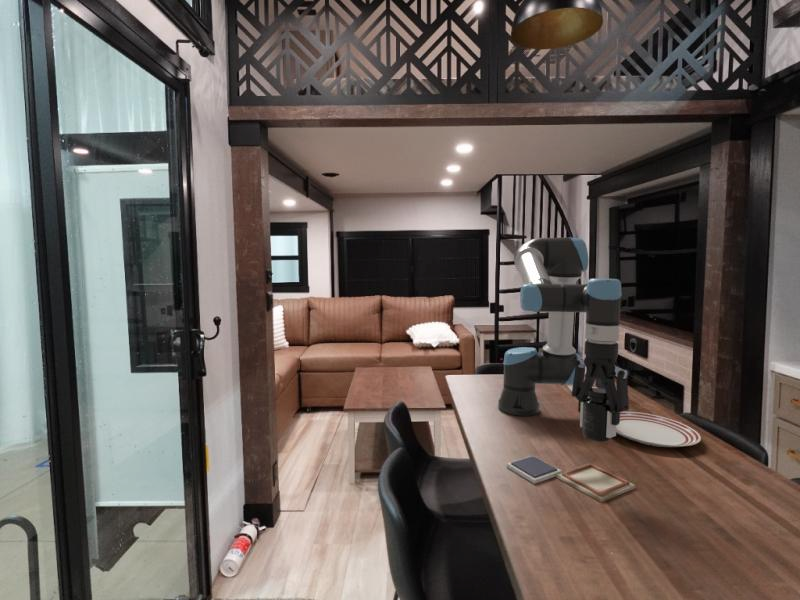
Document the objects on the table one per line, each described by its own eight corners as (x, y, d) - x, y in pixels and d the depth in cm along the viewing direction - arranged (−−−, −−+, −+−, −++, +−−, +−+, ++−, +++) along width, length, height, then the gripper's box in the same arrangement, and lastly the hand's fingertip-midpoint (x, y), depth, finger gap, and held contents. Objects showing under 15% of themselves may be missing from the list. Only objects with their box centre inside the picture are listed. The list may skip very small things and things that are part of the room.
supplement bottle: (615, 443, 102) (618, 395, 101) (585, 441, 104) (587, 393, 102) (607, 432, 109) (609, 387, 108) (579, 430, 110) (581, 385, 109)
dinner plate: (684, 425, 146) (685, 416, 145) (714, 460, 120) (715, 449, 120) (597, 415, 155) (598, 407, 154) (608, 446, 129) (608, 436, 129)
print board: (556, 477, 110) (556, 472, 110) (589, 465, 116) (589, 461, 116) (601, 502, 99) (601, 496, 98) (635, 488, 105) (635, 482, 105)
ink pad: (506, 467, 115) (506, 462, 115) (532, 458, 120) (533, 454, 120) (534, 483, 107) (534, 478, 107) (561, 474, 112) (561, 469, 111)
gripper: (558, 336, 111) (555, 420, 113) (630, 349, 94) (625, 449, 96) (577, 333, 114) (574, 415, 117) (650, 346, 97) (645, 442, 99)
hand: (597, 430), depth 106 cm, fingers closed on supplement bottle, 7 cm apart
